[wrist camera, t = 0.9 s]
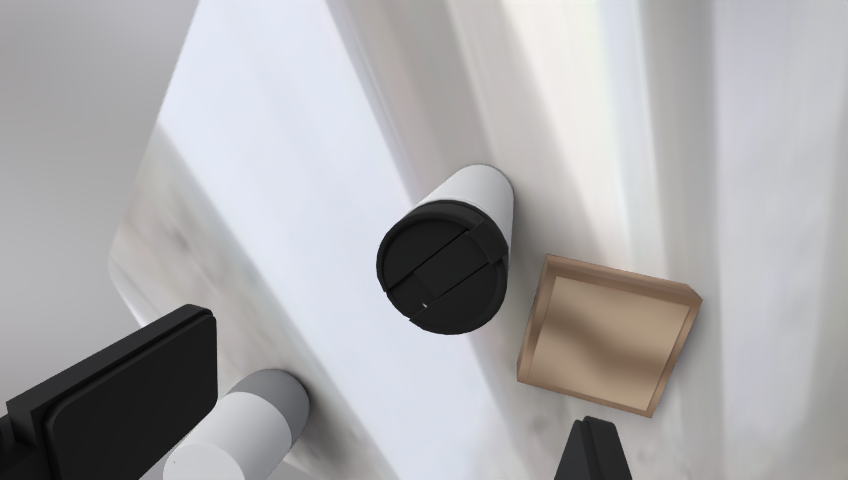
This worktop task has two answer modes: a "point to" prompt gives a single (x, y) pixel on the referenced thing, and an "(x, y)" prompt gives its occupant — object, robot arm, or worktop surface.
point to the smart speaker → (244, 431)
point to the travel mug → (451, 253)
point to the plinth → (605, 334)
